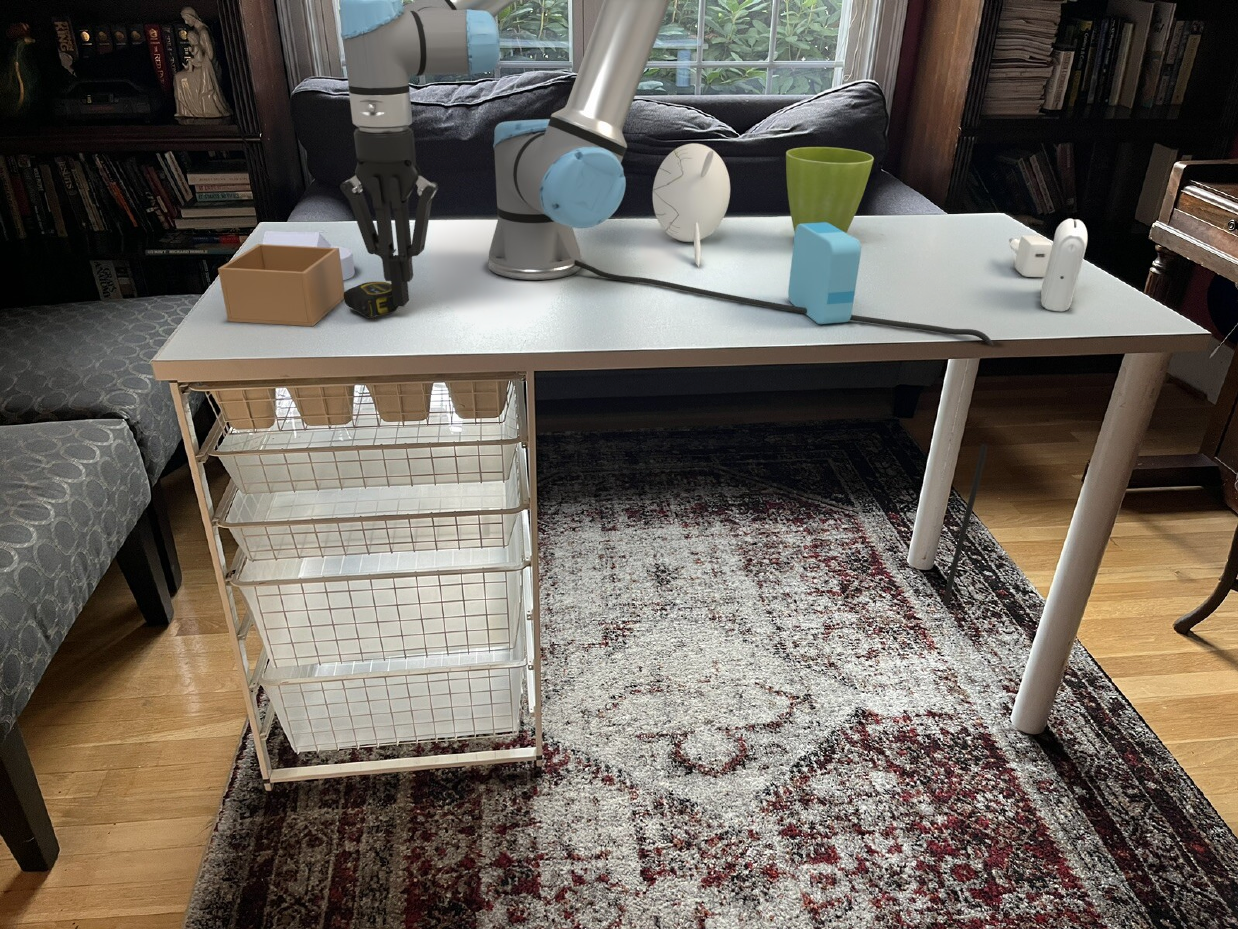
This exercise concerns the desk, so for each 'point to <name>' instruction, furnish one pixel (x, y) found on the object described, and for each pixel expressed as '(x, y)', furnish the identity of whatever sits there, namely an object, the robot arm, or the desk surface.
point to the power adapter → (1031, 255)
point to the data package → (824, 272)
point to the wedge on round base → (311, 241)
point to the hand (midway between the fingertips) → (401, 302)
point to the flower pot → (826, 184)
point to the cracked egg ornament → (691, 194)
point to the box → (282, 284)
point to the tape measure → (371, 299)
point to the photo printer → (1064, 265)
